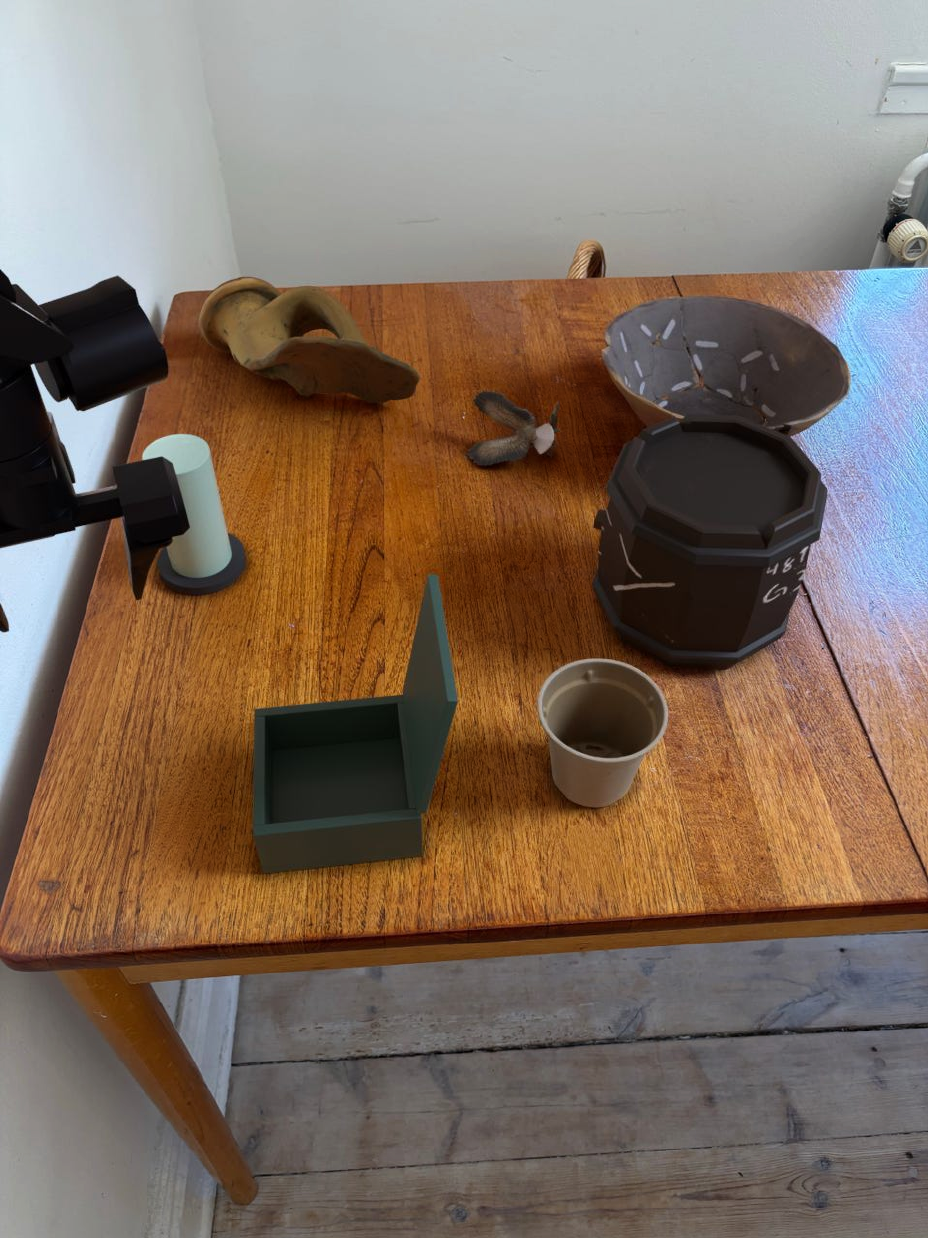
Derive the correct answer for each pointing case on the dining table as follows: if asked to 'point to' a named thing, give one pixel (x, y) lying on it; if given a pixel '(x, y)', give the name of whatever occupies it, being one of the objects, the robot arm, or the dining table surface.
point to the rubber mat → (206, 583)
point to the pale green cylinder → (195, 507)
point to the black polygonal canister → (706, 539)
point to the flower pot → (599, 727)
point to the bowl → (724, 362)
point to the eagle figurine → (519, 422)
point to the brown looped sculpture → (301, 341)
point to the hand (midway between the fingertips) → (73, 611)
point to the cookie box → (333, 785)
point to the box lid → (429, 694)
